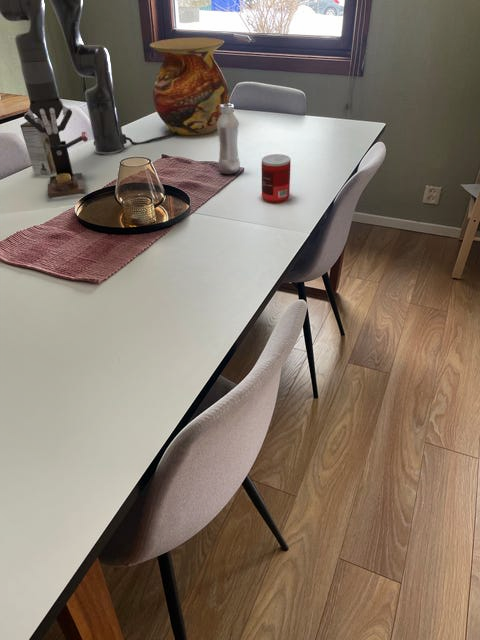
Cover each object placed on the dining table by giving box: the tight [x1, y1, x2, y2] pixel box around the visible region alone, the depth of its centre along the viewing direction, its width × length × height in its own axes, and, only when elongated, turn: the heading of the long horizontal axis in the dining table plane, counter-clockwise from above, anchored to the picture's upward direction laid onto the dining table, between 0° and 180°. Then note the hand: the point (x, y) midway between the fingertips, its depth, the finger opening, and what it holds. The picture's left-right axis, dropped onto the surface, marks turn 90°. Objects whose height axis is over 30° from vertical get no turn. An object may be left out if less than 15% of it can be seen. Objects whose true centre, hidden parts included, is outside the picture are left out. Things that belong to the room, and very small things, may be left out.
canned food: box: [261, 153, 292, 204], centre depth 136 cm, size 8×8×11 cm
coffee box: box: [20, 116, 56, 176], centre depth 157 cm, size 9×6×16 cm
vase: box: [149, 37, 230, 136], centre depth 188 cm, size 29×29×30 cm
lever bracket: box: [49, 140, 84, 184], centre depth 150 cm, size 10×8×12 cm
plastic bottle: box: [216, 103, 241, 175], centre depth 150 cm, size 6×7×20 cm
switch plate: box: [47, 176, 86, 199], centre depth 145 cm, size 10×8×4 cm
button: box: [55, 173, 71, 183], centre depth 144 cm, size 4×4×2 cm
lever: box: [61, 131, 89, 150], centre depth 148 cm, size 11×5×2 cm, turn 106°
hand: (56, 146), depth 139 cm, fingers closed
